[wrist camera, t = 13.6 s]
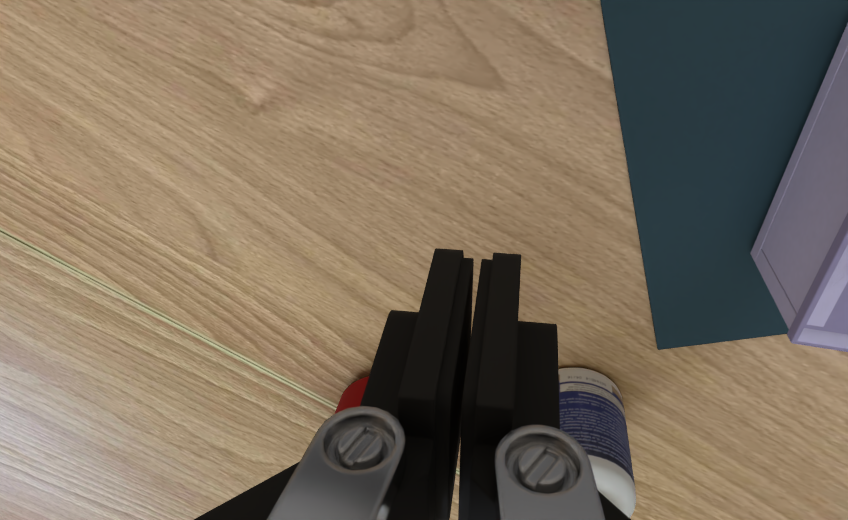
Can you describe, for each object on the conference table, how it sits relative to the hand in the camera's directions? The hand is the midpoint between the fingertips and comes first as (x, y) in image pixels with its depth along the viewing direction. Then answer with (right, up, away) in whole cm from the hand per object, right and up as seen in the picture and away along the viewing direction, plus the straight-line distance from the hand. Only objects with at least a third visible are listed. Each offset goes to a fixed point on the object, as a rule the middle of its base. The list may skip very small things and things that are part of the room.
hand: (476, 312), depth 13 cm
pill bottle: (+8, -7, +25) cm, 27 cm away
